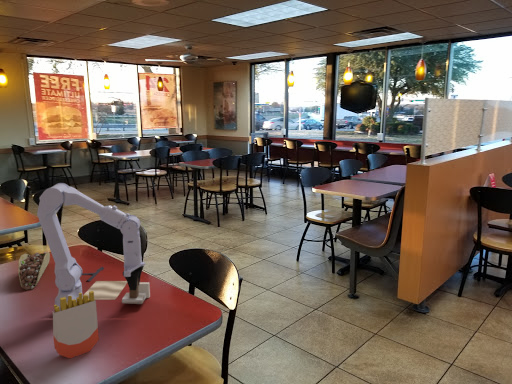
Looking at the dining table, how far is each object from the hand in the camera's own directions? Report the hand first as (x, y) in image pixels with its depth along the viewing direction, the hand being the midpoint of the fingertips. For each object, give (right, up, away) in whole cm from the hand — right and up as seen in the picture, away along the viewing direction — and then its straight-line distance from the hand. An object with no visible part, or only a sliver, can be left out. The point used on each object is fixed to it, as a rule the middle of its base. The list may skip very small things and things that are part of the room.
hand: (134, 287), depth 139 cm
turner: (0, -5, +1) cm, 5 cm away
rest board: (-15, -4, +13) cm, 20 cm away
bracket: (-31, -2, +28) cm, 42 cm away
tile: (0, -6, +7) cm, 9 cm away
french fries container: (-9, -12, -25) cm, 29 cm away
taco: (-49, -2, +26) cm, 55 cm away
